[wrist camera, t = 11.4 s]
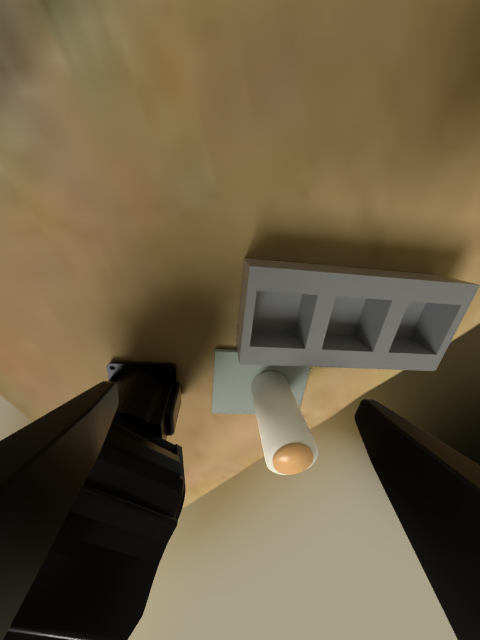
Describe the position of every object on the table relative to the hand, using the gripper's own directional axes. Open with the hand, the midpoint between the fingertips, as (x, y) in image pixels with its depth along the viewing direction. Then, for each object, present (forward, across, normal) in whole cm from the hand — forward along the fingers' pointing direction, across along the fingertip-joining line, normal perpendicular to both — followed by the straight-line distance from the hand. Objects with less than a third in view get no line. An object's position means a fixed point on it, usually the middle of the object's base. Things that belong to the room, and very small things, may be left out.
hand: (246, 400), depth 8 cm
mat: (+13, -4, +10) cm, 17 cm away
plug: (+12, -5, +10) cm, 17 cm away
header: (+13, -10, 0) cm, 16 cm away
